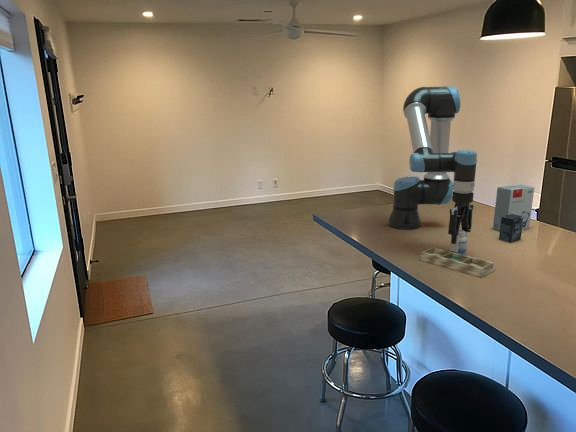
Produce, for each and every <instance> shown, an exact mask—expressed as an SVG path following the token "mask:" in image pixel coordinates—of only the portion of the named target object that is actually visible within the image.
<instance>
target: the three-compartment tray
mask: <svg viewBox="0 0 576 432" xmlns="http://www.w3.org/2000/svg"><path fill="white" fill-rule="evenodd" d="M418 260H419V261H421V262H425V263H428V264H431V265H435V266H439V267H442V268H446V269H449V270H453V271H457V272H461V273H464V274H468V275H471V276H475V277H479V278H483V277H486V276H487V275H489V274H491V273H493V272H495V271H496V267H495V262H492V261H488V260H484V259H481V258H478V257H473V256H469V255H462V254H458V253H454V252H451V251H450V250H445V249H442V248H438V247H433V246H432V247H430V248H428V249H426V250H423V251H421V252H420V256H419V257H418Z"/></svg>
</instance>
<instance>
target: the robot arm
mask: <svg viewBox="0 0 576 432" xmlns="http://www.w3.org/2000/svg"><path fill="white" fill-rule="evenodd" d="M402 110H403V116H404V118H405V119H406V120H407V121H406V122H407V126H408V131H409V136H410V141H411V146H412V153H410V155H409V162H408V163H409V170H410V171H411V172H413V173H425V174H424V175H423V179H420V177H419V176H404V177H400V178H397V179H396V180H395V181H394V183H393V189H392V190H393V200H392V201H393V202H392V211H391V213H390V216H389V219H388V226H389V227H391V228H394V229H399V230H415V229H419V228H421V224H422V221H421V218H420V214H419V211H418V210H419V205H437V206H440V205H447V204H448V203H450V201H451V200H452V202H454V206H453V208H452V209H451V208H450V209H449V221H448V222H449V223H448V233H447V234H448V235H449V236H450V237H451V239H450V250H449V251H450V252H451V251H454V252H458V243H459V236H458V232H459V230H460V227H461V230H463V231H465V232H466V235H465V237H466V238H467V239H468V235H469V233H471V232H472V230H471V229H472V224H473V223H472V222H473V210H474V205H473V204H471V203H473V201H474V194H475V193H474V191H475V190H474V189H475V186H476V185H475V180H476V170H477V162H478V159H477V158H478V156H477V155H478V154H477V152H476V150H470V149H469V150H468V149H460V150H457V151H452V152H449V150H450V149H449V148H450V136H451V135H450V133H451V122H452V121H453V120H454V119H455V117H456V114H458V113H459V112H460V111H461V95H460V92H459V90H458V88H457V87H455V86H421V87H418V88H416V89H414V90H413V91H411V92H410V93H409V94H408V95H407V97H406V98H405V100H404V102H403V108H402ZM426 114H427V117H426ZM426 118H428V120H429V121H430V132H429V128H428V123H427V119H426ZM448 173H454V174H453V180H452V179H450V177H451V176H449V174H448ZM467 244H468V243H467ZM467 244H466V248H467Z"/></svg>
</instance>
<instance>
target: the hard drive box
mask: <svg viewBox="0 0 576 432" xmlns="http://www.w3.org/2000/svg"><path fill="white" fill-rule="evenodd" d="M534 194H535V187H534V186H529V185H524V184H515V185H506V186H498V187H497V188H496V196H495V207H494V214H493V222H492V223H493V224H492V229H493V230H497V231H499V232H500V225H501V217H502V216H506V215H510V214H515V215H519V216H523V224H522V231H524V230H530V223H531V218H532V217H531V216H532V210H533V209H532V208H533V203H534V201H533V200H534Z"/></svg>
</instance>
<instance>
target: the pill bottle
mask: <svg viewBox="0 0 576 432" xmlns="http://www.w3.org/2000/svg"><path fill="white" fill-rule="evenodd" d="M465 235H466V232H465V231H463V230H462V229H459V232H458V236H459V243H458V252H454V251H450V252H454V253H458V254H462V255H465V256H467V255H466V252H467V247H466V244H468V237H467V238H466V237H465Z"/></svg>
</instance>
